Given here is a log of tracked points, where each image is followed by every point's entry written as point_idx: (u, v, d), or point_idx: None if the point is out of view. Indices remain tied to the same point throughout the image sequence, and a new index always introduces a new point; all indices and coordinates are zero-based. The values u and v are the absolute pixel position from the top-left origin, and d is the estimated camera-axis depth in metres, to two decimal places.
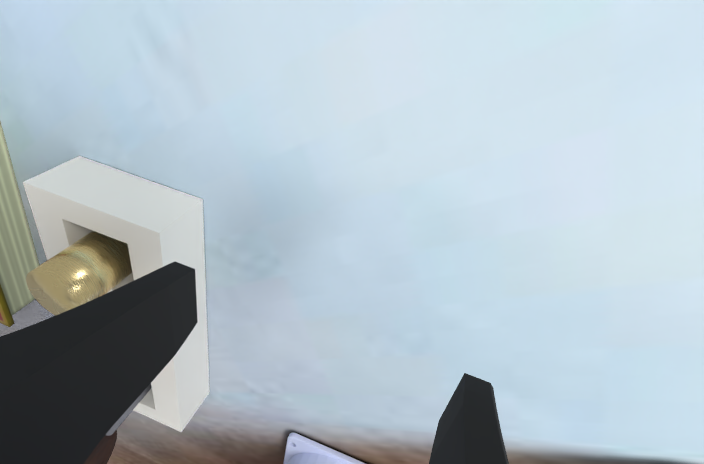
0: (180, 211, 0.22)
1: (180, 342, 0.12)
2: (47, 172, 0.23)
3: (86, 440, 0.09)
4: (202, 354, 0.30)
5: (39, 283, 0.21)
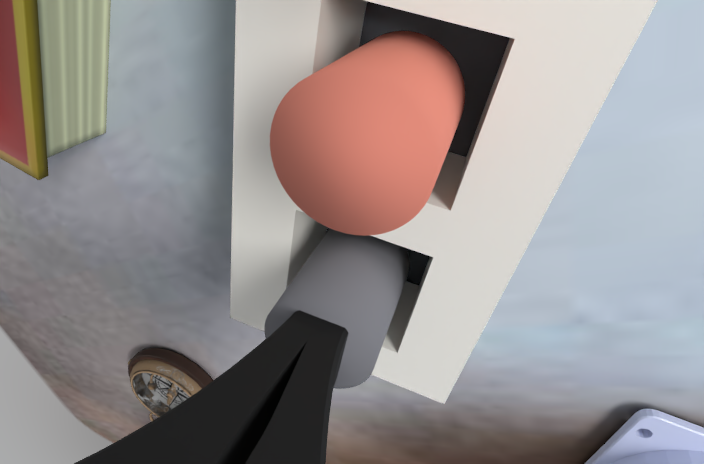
0: None
1: None
2: None
3: None
4: None
5: None
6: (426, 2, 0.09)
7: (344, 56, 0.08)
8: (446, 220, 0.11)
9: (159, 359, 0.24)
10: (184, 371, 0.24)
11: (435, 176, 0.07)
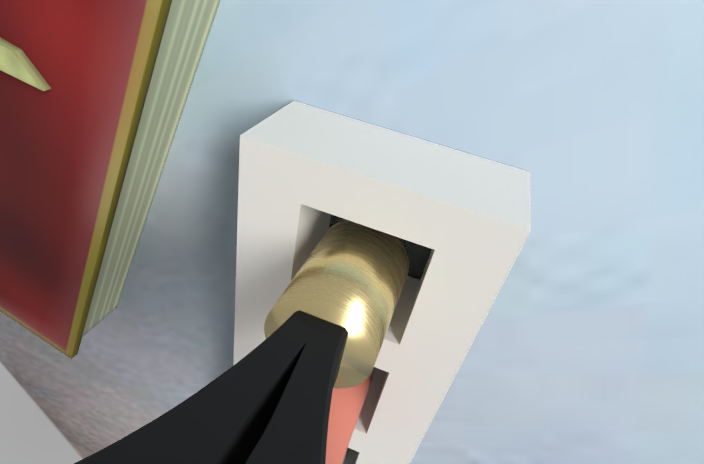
0: (521, 191, 0.12)
1: None
2: (267, 122, 0.13)
3: None
4: None
5: None
6: None
7: None
8: (364, 437, 0.18)
9: None
10: None
11: None
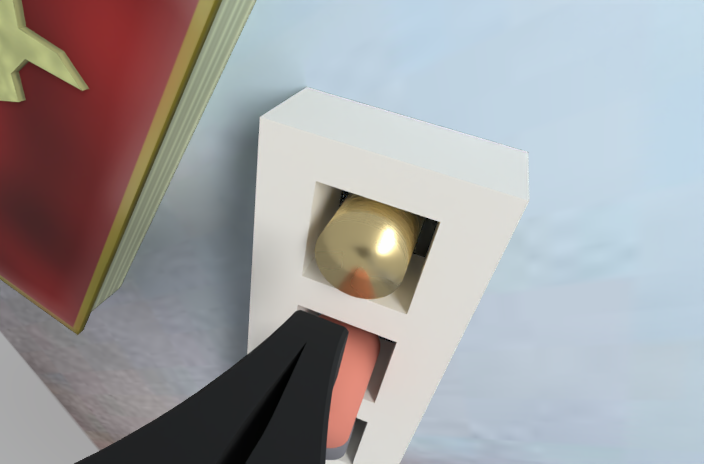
0: (520, 168, 0.13)
1: None
2: (283, 105, 0.14)
3: None
4: None
5: (343, 242, 0.14)
6: (351, 320, 0.16)
7: None
8: (372, 407, 0.19)
9: None
10: None
11: (349, 433, 0.15)
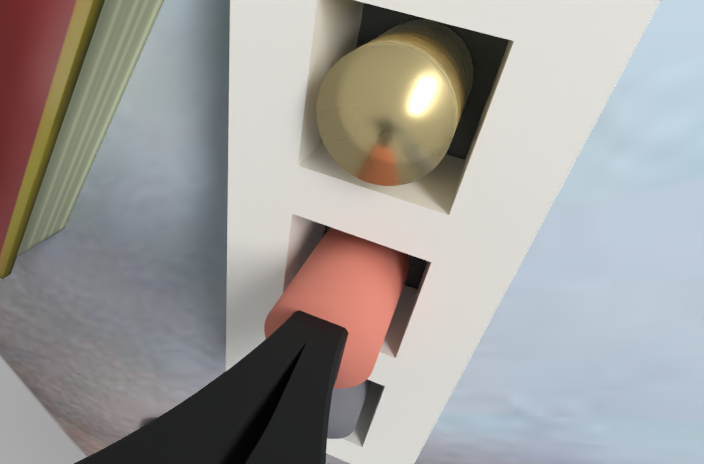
0: None
1: None
2: None
3: None
4: None
5: (360, 87, 0.09)
6: (367, 232, 0.12)
7: (315, 266, 0.12)
8: (393, 364, 0.14)
9: None
10: None
11: (373, 363, 0.11)
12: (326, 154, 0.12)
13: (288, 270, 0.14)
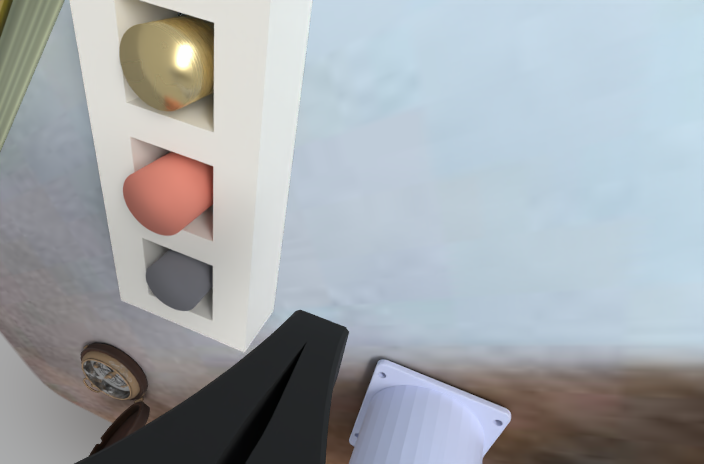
0: None
1: None
2: None
3: None
4: (277, 247, 0.23)
5: (139, 48, 0.15)
6: (174, 147, 0.18)
7: (157, 159, 0.19)
8: (212, 246, 0.20)
9: (112, 356, 0.35)
10: (128, 368, 0.35)
11: (184, 212, 0.18)
12: None
13: None
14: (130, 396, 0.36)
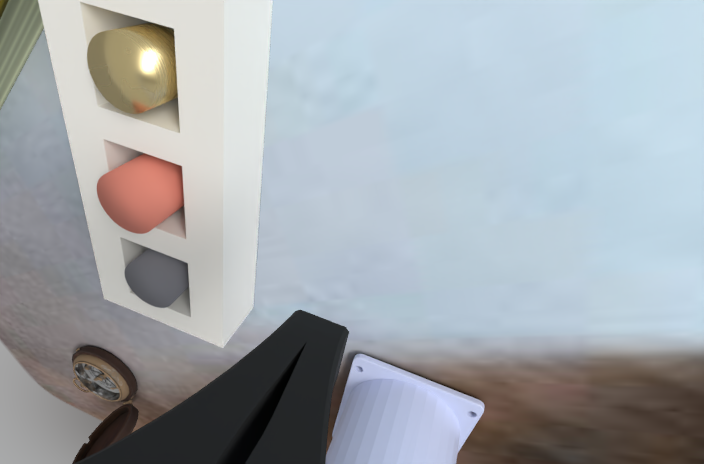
0: None
1: None
2: None
3: None
4: (252, 245, 0.24)
5: (105, 54, 0.16)
6: (144, 148, 0.19)
7: (130, 160, 0.20)
8: (186, 244, 0.21)
9: (104, 360, 0.36)
10: (120, 373, 0.36)
11: (154, 211, 0.19)
12: None
13: None
14: (119, 398, 0.38)
